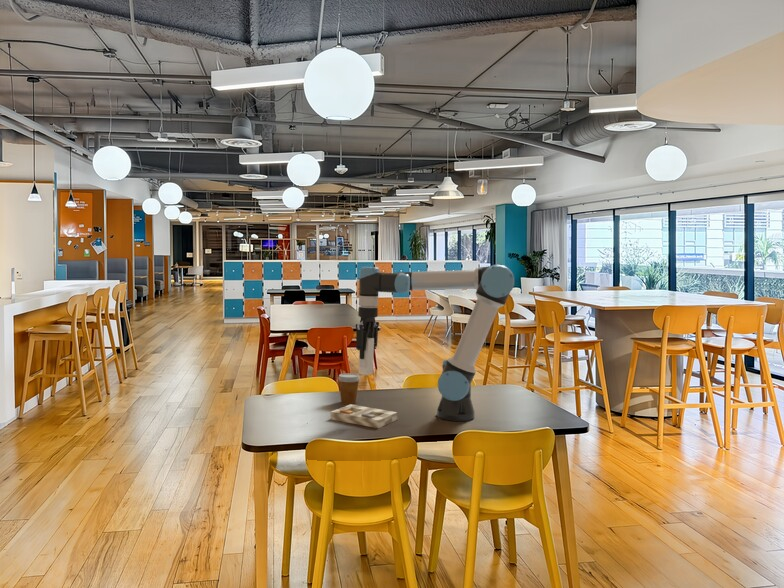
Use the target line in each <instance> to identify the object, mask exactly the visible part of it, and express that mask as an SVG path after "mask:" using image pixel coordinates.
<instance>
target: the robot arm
mask: <svg viewBox="0 0 784 588" xmlns="http://www.w3.org/2000/svg"><path fill="white" fill-rule="evenodd" d="M358 280H359V281H358V284H359V286H358V287H359V288H358V289H359V290H358V306H359V307H358V317H359V318H360V320H359V323H356V324H355V330H356V334H355V336H356V337H355V338H356V339H355V340H356V341H355V343H356V344H355V345H356V346H355V349H356V350H357V351H360V364H359V363H358V368H359V367H364V368H366V361H367V351H365V350H366V343H367V338H374V350H376V349H377V347H378V338H379V337H378V335H379V326H380V322H379V321H376V318H377V317H378V315H379V314H378V312H379V309H378V306H379V293H391V294H392V293H393V294H408V293H409V292H410V291H443V290H445V291H447V290H449V291H450V290H475V291H476V292H475V296H476V298H477V299H476V302H475V304H474V306H473V308H472V311H471V313H470V316H469V318H468V321H467V323H466V325H465V328H464V329H463V332H462V335H461V337H460V339H459V342H458V344H457V346H456V349H455V350H454V351H455V352H454V354H453V356H451V357H449V358H447V359H444V360H443V361H442V366H441V367H442V372H441V374H440V375H439V377H438V380H437V389H438V391H439V394H440V395H441V397H440V401H439V404H438V407H437V409H436V417H438V418H439V419H442V420H444V421H451V422H452V421H453V422H464V421H465V422H466V421H470V420H473V419H474V418H475V409H474V405H473V401H472V397H471V395H472V382H473V380H474V377H475V375H476V372H477V370H476V368H475V366H476V365H475V364H476V363H477V360H478V358H479V355H480V353H481V351H482V348H483V347H484V343H485V341H486V339H487V337H488V334H489V332H490V329H491V327H492V325H493V323H494V320H495V319H496V316H497V314H498V311H499V309H500V308H502V307H503V306H505V305H506V303H507V301H508V298H509V296H510V293H511V292H512V291H513V289H514V286H515V276H514V272H513V271H512V270H511V269H510V268H509V267H508V266H506V265H504V264H501V263H500V264H493V265H490V266H481V267H479V266H477V267H476V268H475V269H468V270H467V269H465V270H463V269H462V270H458V269H456V270H429V271H397V272H381V271H380V268H379V267H378V266H377V267H375V266H362V267H360V269H359V278H358Z"/></svg>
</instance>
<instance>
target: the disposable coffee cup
mask: <svg viewBox="0 0 784 588" xmlns="http://www.w3.org/2000/svg"><path fill="white" fill-rule="evenodd" d="M337 380H338V383H339V393H340V403H341V404H343V405H350V404H352V405H355V404H356V403H357V396H358V388H359V383H360V382H359V381H360V380H361V378H360V374H359V373H350V372H349V373H345V372H344V373H340V374H339V375H338V377H337Z"/></svg>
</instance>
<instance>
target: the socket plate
mask: <svg viewBox="0 0 784 588" xmlns="http://www.w3.org/2000/svg"><path fill="white" fill-rule="evenodd" d="M330 420H333V421H338V422H342V423H343V422H344V423H349V424H355V425H360V426H365V427H370V428H374V429H380V428H383V427H384V426H387V425H389V424H391V423H393V422H396V421H397V420H398V411H392V410H385V409H381V408H375V407H369V406H362V405H357V404H346V405H345V406H343V407H340V408H337V409H334V410H332V411H330Z"/></svg>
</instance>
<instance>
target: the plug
mask: <svg viewBox="0 0 784 588" xmlns="http://www.w3.org/2000/svg"><path fill="white" fill-rule="evenodd" d="M374 344H375V343H374V338H367V343H366V350H365V351H367V361H366V368H364V367H359V366H358V375H362V376H369V375H373V374H374V354H375V353H374V351H375V349H374ZM358 351H359V353H358V355H359V356H358V358H359V359H358V365H359V364H360V350H358Z"/></svg>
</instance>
